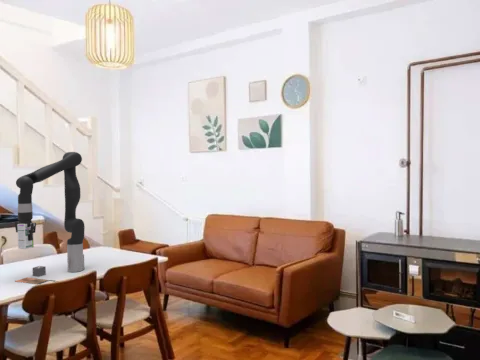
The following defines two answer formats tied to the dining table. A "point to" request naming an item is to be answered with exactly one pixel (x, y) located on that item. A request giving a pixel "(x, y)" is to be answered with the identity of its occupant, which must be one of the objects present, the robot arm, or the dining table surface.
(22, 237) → the syrup box
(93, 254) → the dining table surface
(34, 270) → the die
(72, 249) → the robot arm
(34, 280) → the flat rectangular plate
